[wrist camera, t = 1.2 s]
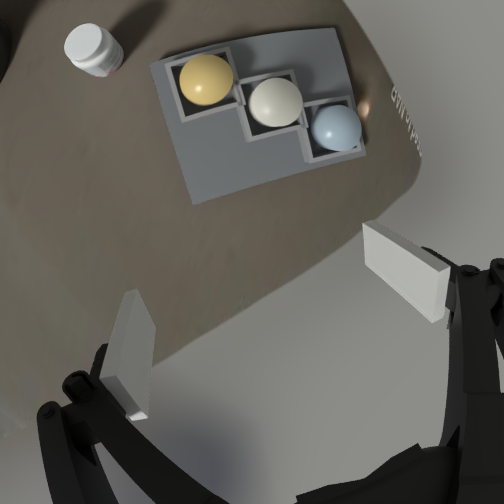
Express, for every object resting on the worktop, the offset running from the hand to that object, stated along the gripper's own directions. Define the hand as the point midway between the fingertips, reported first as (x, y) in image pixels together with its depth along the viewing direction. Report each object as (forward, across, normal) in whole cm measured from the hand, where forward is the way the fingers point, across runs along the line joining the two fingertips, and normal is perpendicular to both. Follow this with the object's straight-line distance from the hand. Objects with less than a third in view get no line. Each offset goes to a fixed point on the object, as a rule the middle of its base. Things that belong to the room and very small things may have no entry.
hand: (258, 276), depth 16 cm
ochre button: (+17, +1, +13) cm, 22 cm away
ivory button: (+17, +7, +9) cm, 21 cm away
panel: (+22, +7, +9) cm, 25 cm away
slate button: (+17, +13, +6) cm, 22 cm away
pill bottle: (+22, -9, +21) cm, 31 cm away
